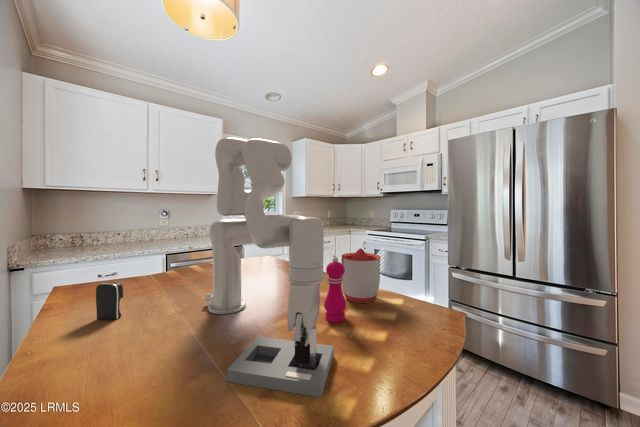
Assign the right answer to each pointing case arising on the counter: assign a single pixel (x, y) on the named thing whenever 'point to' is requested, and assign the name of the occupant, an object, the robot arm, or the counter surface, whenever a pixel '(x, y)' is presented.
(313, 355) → the bushing
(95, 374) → the counter surface
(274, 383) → the block
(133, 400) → the counter surface
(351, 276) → the citrus juicer
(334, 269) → the pepper mill
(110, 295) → the battery charger
